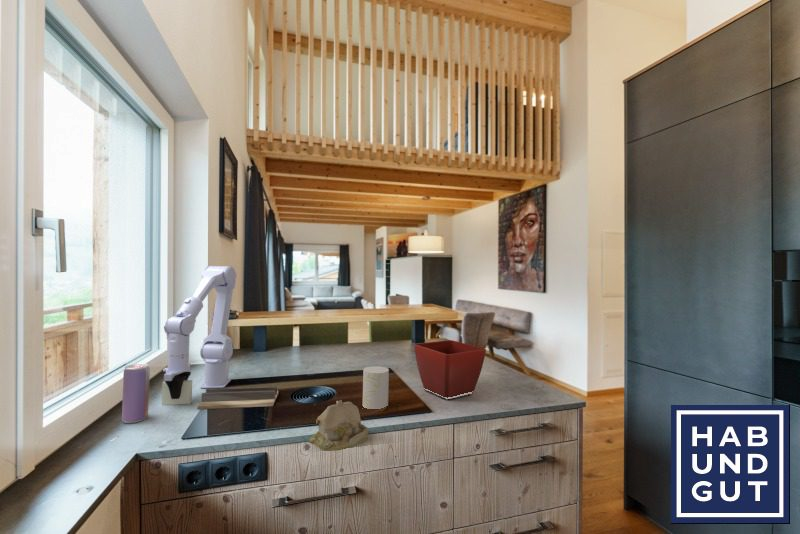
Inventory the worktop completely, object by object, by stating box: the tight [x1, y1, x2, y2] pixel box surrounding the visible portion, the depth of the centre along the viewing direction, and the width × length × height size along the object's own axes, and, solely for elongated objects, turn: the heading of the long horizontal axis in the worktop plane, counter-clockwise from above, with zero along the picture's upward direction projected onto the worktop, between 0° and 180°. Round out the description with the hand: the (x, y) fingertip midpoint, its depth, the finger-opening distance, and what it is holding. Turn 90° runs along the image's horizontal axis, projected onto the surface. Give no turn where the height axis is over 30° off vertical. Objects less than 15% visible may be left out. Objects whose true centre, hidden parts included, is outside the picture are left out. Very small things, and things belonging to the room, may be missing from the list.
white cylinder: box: [362, 365, 390, 409], centre depth 114 cm, size 8×8×12 cm
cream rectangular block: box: [161, 379, 193, 406], centre depth 114 cm, size 2×8×7 cm, turn 101°
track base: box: [196, 386, 279, 410], centre depth 117 cm, size 12×22×4 cm, turn 101°
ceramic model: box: [309, 399, 369, 452], centre depth 92 cm, size 14×11×10 cm
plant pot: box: [413, 339, 487, 398], centre depth 130 cm, size 19×19×17 cm
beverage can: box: [121, 363, 151, 424], centre depth 101 cm, size 6×6×15 cm
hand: (177, 397), depth 114 cm, fingers closed on cream rectangular block, 2 cm apart
